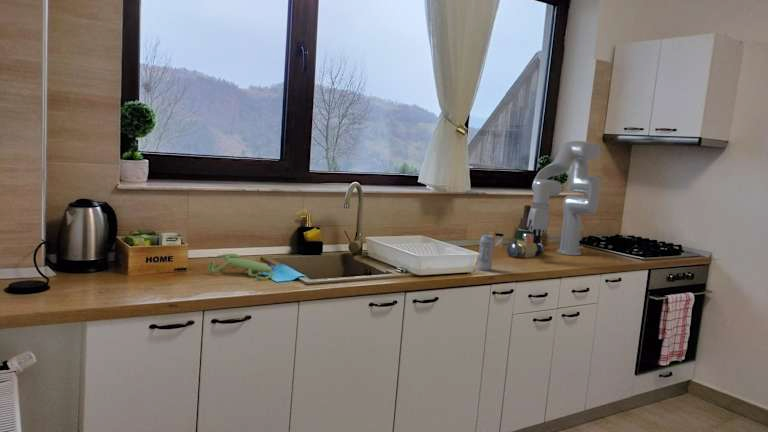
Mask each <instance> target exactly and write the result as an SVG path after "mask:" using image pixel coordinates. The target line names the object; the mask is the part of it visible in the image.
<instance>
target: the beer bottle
mask: <svg viewBox="0 0 768 432" xmlns="http://www.w3.org/2000/svg"><path fill="white" fill-rule="evenodd" d="M523 208H524V209H523V214H522V220H521V221H520V222H519V224H518V226H517V227H518V228H517V235H516V241H517V240H524V239H523V233H529V234H532V235H533V233H532V232H530V231H528V230H529V228H528V227H527V222H528V216H529V212H530V209H531V208H532V205H528V204H525V205H524V206H523ZM515 244H517V242H516V243H515Z"/></svg>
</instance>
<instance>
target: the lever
mask: <svg viewBox="0 0 768 432" xmlns="http://www.w3.org/2000/svg"><path fill="white" fill-rule="evenodd" d="M533 238H534V236H533V233H532V234H529V233H523V239H526V242H527V243H528V244H533Z"/></svg>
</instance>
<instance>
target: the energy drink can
mask: <svg viewBox="0 0 768 432" xmlns="http://www.w3.org/2000/svg"><path fill="white" fill-rule="evenodd" d="M479 240H480V241H479V248H478V259H477V268H478V270H480V271H488V272H489V271H491V269H492V266H493V255H494V245H495V244H494V243H495V239H494V236H493V235H490V234H489V235H488V234H482V235H481V238H480V239H479ZM479 254H480V255H479Z"/></svg>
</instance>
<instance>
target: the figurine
mask: <svg viewBox="0 0 768 432" xmlns="http://www.w3.org/2000/svg"><path fill="white" fill-rule="evenodd" d="M221 258H224V260H226V262H224V263H223V264H221V265H219V266H218V267H216V262H215V261H211V262H210V263H209V265H208V267H207V270H206V275H210V272H211V273H212V274H216V273H217V272H219V271H221V270H222V269H224V268H225V267H226V266H228V265H231V266H233V267H236V268H240V269H243V270H242V271H241V273H243V272H246V271H247V274H248V276H249V277H255V278H256V279H257V280H259V281H269V280H270V279H272V278H273V276H274V272H273V271H272V269H273V270H274V268H275V264H272V263H270V262H267V263H264V262H263V263H262V262H258V261H255V260H251V259H245V258H240V255H239V254H236V253H226V254H221V255H220V254H218V255H216V259H221ZM215 267H216V268H215ZM252 271H253V272H254V273H252ZM263 273H270V274H269V275H268V276H266V277H261V276H262V275H263ZM271 277H272V278H271ZM269 278H270V279H269ZM268 279H269V280H268Z"/></svg>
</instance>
